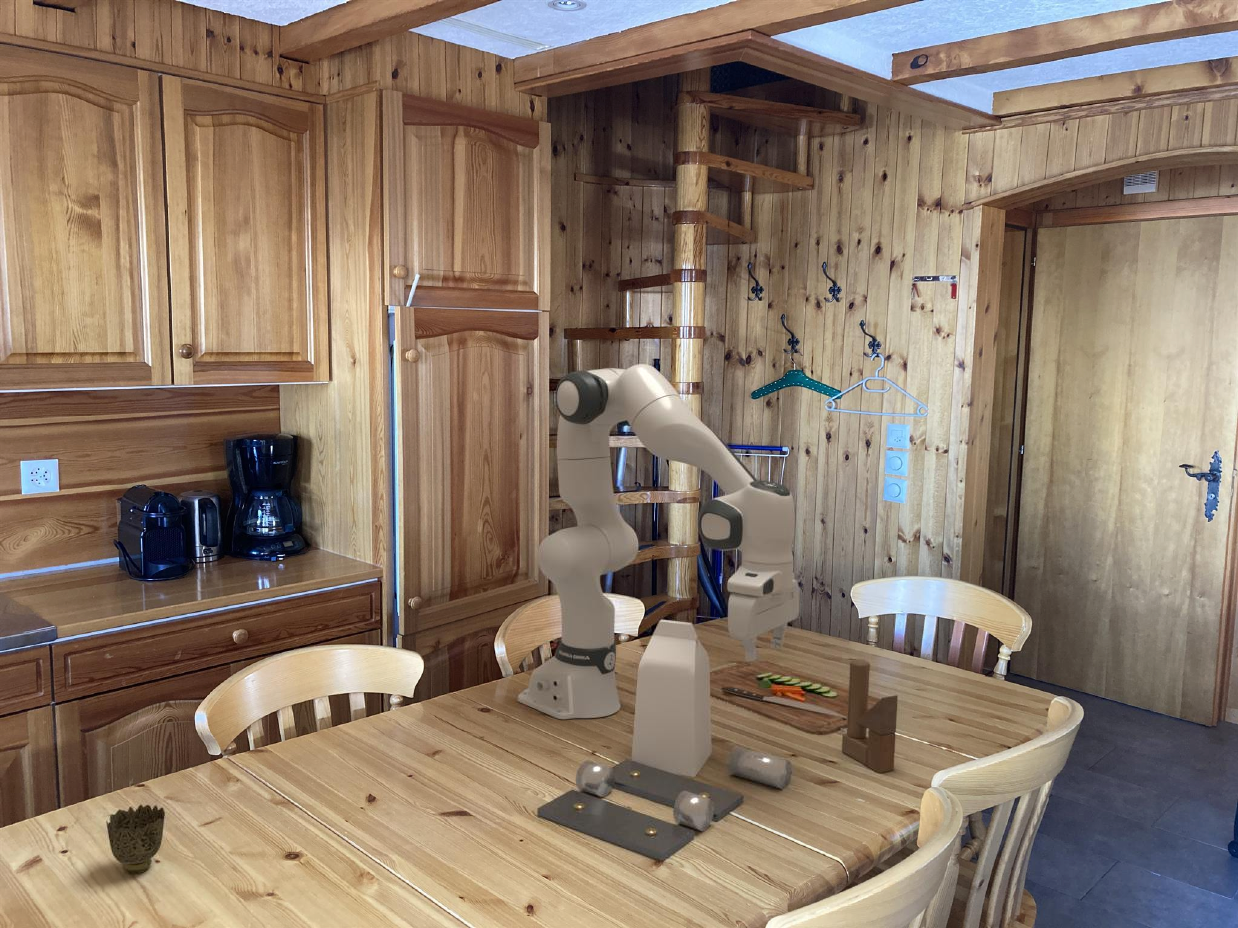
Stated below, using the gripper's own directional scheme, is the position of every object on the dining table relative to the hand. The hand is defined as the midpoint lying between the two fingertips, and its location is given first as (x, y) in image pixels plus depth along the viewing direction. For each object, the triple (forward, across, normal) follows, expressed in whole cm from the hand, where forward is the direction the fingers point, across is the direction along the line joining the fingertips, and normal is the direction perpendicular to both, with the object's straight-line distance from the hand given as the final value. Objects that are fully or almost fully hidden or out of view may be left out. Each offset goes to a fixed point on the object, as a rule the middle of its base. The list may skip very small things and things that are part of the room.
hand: (764, 653), depth 173 cm
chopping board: (+24, -43, -16) cm, 52 cm away
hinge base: (+23, +22, -10) cm, 33 cm away
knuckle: (+23, 0, 0) cm, 23 cm away
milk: (+23, +2, -17) cm, 29 cm away
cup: (+23, +82, -56) cm, 102 cm away
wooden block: (+23, -20, +12) cm, 33 cm away
